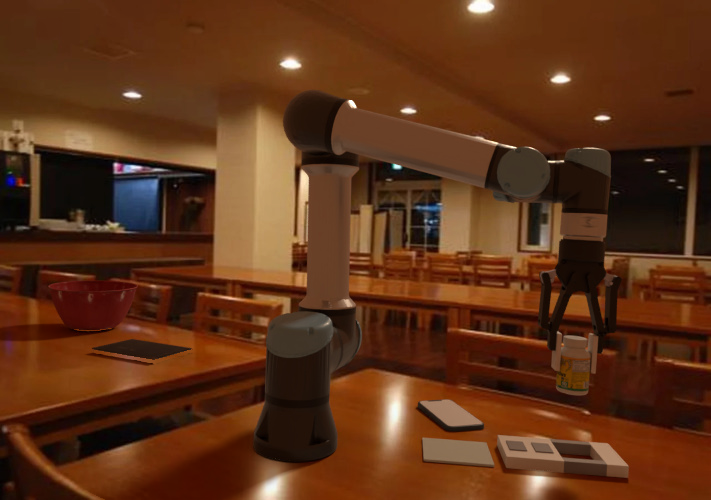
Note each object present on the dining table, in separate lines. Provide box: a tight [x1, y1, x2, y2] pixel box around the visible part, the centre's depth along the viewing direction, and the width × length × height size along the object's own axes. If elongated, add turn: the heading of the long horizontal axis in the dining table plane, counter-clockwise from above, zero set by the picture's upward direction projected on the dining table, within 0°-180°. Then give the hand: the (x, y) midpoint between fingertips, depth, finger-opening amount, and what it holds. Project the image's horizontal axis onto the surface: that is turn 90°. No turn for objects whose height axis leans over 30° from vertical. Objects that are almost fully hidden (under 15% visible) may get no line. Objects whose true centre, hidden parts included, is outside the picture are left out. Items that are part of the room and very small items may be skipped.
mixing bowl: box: [47, 280, 139, 330], centre depth 197 cm, size 28×28×15 cm
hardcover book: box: [91, 338, 193, 360], centre depth 165 cm, size 16×23×2 cm
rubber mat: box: [421, 437, 495, 468], centre depth 102 cm, size 12×10×1 cm
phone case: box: [417, 398, 485, 433], centre depth 121 cm, size 9×2×16 cm
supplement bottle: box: [555, 335, 591, 396], centre depth 99 cm, size 5×5×10 cm
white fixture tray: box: [496, 434, 630, 479], centre depth 100 cm, size 20×10×2 cm, turn 85°
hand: (573, 369), depth 99 cm, fingers closed on supplement bottle, 5 cm apart
